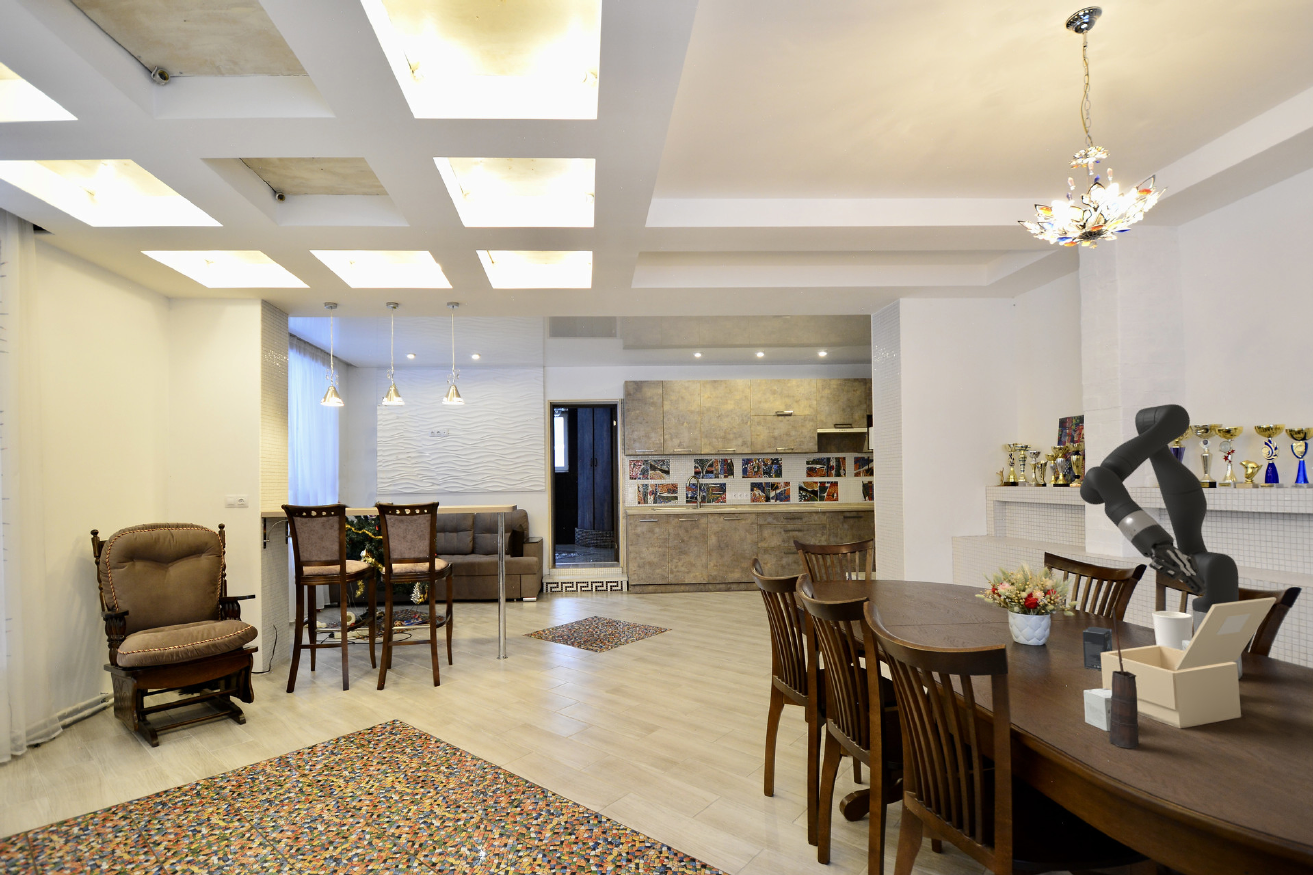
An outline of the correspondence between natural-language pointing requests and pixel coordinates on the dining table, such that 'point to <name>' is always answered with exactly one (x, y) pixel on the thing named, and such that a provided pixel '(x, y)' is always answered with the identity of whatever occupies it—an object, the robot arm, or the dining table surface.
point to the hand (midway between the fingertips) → (1202, 591)
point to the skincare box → (1098, 707)
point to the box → (1096, 646)
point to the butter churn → (1123, 704)
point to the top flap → (1224, 632)
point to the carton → (1176, 686)
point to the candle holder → (1172, 628)
